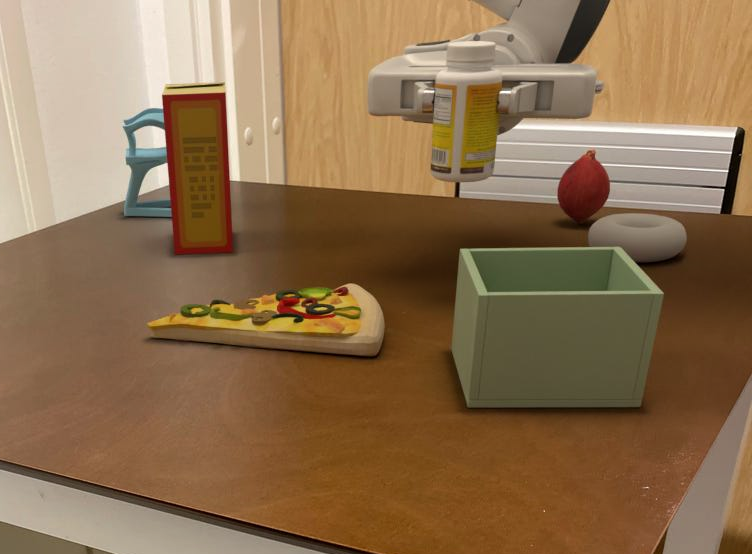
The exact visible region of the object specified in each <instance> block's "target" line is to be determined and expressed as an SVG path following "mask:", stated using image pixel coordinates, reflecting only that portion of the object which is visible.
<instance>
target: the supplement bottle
mask: <svg viewBox="0 0 752 554" xmlns="http://www.w3.org/2000/svg"><path fill="white" fill-rule="evenodd" d="M495 47H496V44H495V43H494V42H487V41H463V42H453V43H449V44H448V45H447V56H446V60H447V61H446V65H447V66H448V69H445V70H442V71H440V72H439V73H438V74H437V76H436V82H435V98H434V116H433V124H432V134H431V135H432V137H431V151H430V153H431V154H430V174H431V176H432V177H433V178H434V179H436V180H438V181H442V182H446V183H475V182H481V181H485V180H487V179H489V178H490V177H492V175H493V174H494V171H495V163H496V151H497V143H498V142H497V140H498V135H497V131H498V121H499V114H497V106H498V104H499V101H498V95H499V91H500V90H501V88H502V73H501V72H500V71H499V70H498V69H495V68H491V66H492V65H493V64H494V59H495Z"/></svg>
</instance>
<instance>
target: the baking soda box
mask: <svg viewBox="0 0 752 554" xmlns="http://www.w3.org/2000/svg"><path fill="white" fill-rule="evenodd" d="M226 93H227V91H226V82H224V81H223V82H220V81H219V82H198V83H197V82H196V83H195V82H193V83H169V84H168V83H166V84H165V85H164V88H163V91H162V94H161V102H162V103H161V104H162V109H163V115H164V127H165V130H164V138H165V147H166V152H167V163H166V164H167V174H168V186H169V187H168V188H169V199H170V201H171V207H170V208H171V213H172V217H171V224H172V234H173V235H172V236H173V251H174V255H202V254H224V253H225V254H226V253H234V242H233V241H234V240H233V239H234V238H233V221H232V219H233V217H232V199H231V196H232V195H231V182H230V181H231V177H230V157H229V156H230V155H229V135H228V133H229V132H228V116H227V115H228V114H227V94H226Z"/></svg>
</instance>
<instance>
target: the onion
mask: <svg viewBox="0 0 752 554" xmlns="http://www.w3.org/2000/svg"><path fill="white" fill-rule="evenodd" d="M596 154H597V153H596V149H595V148H590V149H588V150H587V151H586V152H585V153H584V154H582V155H581V156H580V157H579V158H578V159H577V160H575V161H573V163H572V164H570V165H569V166H568V168H566V169H565V171H564V173H563V174H562V176H561V177H560V180H559V182H558V186H557V193H556V194H557V197H556V198H557V202H558V204H559V208H560V209H561V210H562V211H563V213H564V214H566V215H567V216H568V217H569V218H570V220H572V221H573V222H574V223H576V224H578V225H579V224H581V225H582V224H584V223H585V222H586V221H587V220H589V219H590V218H591V217H593V216H594V215H595V214H596V213H598V212H599V211H600V210H601V209H602V208H603V207H604V206H605V204H606V202H607V201H608V199H609V196H610V192H611V181H610V176H609V174H608V172H607V170H606V168H605V167H604V166H603V164H602V163H601V162H600V161H599V160H598V159H597V158H596Z"/></svg>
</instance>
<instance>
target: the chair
mask: <svg viewBox="0 0 752 554" xmlns="http://www.w3.org/2000/svg"><path fill="white" fill-rule="evenodd" d="M122 122H123V123H124V125H122V128H123V131H124V133H125V135H126V138H127V143H128V148H126V149H125V165H126V166H129V168H130V177H129V182H128V187H127V192H126V196H125V199H124V205H123V207H124V209H123V212H124V213H123V216H124V217H159V218H161V217H162V218H163V217H164V218H172V213H171V201H170V198H163V199H154V200H146V201H138V198H139V195H140V191H141V187H142V185H143V182H144V179H145V177H146V175H147V173H148V172H149V171H150V170H152V169H155V168H156V167H159V166H162V165H165V164H167V152H166V146H162V147H154V148H153V147H152V148H151V147H150V148H143V147H141V148H139V147H137V140H136V135H135V133H136V131H138V130H140V129H143V128H144V127H155V128H159V129H161V130H163V131H165V127H164V115H163V108H160V107H150V108H149V107H148V108H146V109H144V110H142V111H140V112H139V113H137V114H136V115H134V116H132V117H130V118H127V119H123V120H122ZM134 132H135V133H134Z"/></svg>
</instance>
